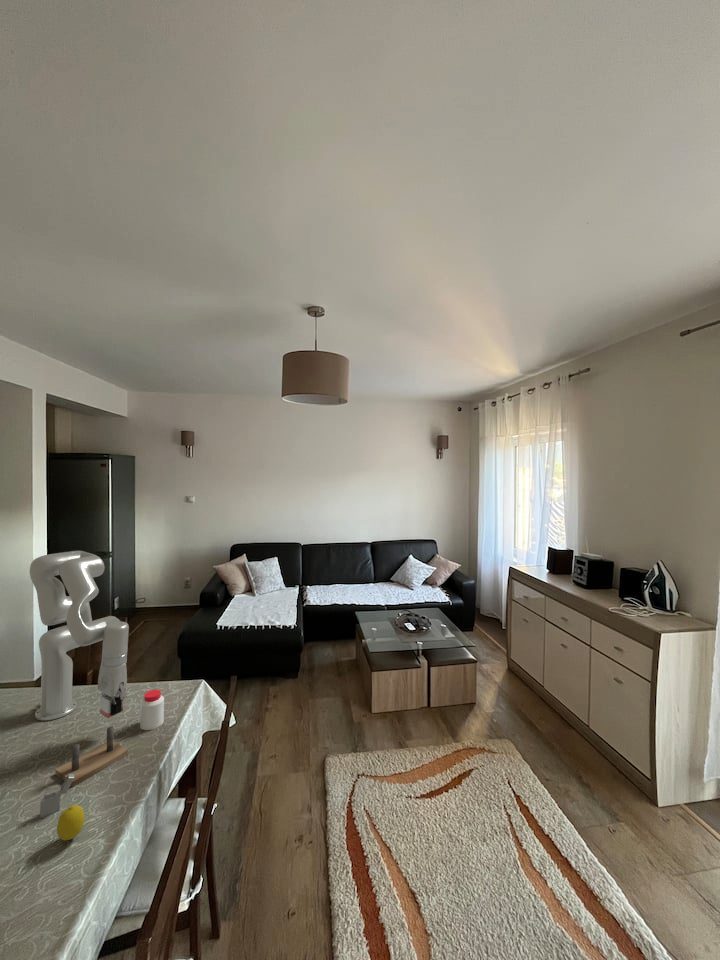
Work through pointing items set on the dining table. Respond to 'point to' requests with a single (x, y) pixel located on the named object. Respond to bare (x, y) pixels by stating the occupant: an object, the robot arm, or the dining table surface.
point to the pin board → (92, 760)
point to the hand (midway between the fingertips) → (111, 710)
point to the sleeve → (107, 705)
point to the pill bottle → (152, 710)
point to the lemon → (70, 822)
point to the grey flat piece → (54, 798)
